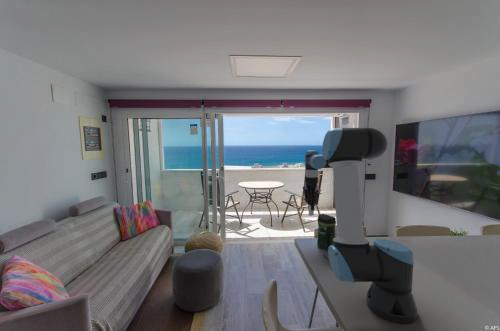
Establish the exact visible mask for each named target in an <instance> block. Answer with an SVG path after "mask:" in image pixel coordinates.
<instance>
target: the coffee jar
mask: <svg viewBox="0 0 500 331" xmlns="http://www.w3.org/2000/svg"><path fill="white" fill-rule="evenodd" d="M317 226H318V228H317V229H318V230H317V241H316V243H317V247H318V248H320V249H322V250H325V251H328V248H329V246H331V245H333V239H334V238H335V237H336V226H337V223H336V217H335V216H332V215H330V214H326V213H320V214H318V216H317Z"/></svg>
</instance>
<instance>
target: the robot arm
mask: <svg viewBox="0 0 500 331" xmlns="http://www.w3.org/2000/svg"><path fill="white" fill-rule="evenodd" d="M321 148H322V149H321V154H320V153H319V151H318V150H315V149H314V150H305V152H304V154H305V155H304V158H305V159H304V160H305V161H304V167H305V168H304V176H305V177H304V183H305V185H304V186H302V189H303V194H304V200H305V203H307V209H308V216H310V217H311V216H314V213H315V205H317V204H319V203H318V202H319V197H320V193H321V191H322V190H321V188H320V189H319V187H318V183H319V177H318V176H319V170H322V169H332V172H333V173H332V175H333V189H334V204H335V216H336V217H335V218H336V233H337V234H336V235H335V238H334V239H333V245H331V246H329V248H328V250H327V253H328V257H329V259H328V261H329V264H330V267H331V270H332V272H333V275H334V276H335V277H336V279H337V280H338V281H340V282H343V283H344V282H345V283H346V282H347V283H353V284H354V283H371V284H370V286H369V288H368V290H367V292H366V304H367V306H368V308H369V309H370V310H371V311H372V312H373V313H374V314H376V316H377V315H378V317H381V318H383V319H384V320H387V321H390V322H392V323H397V324H403V325H404V324H405V325H407V324H411V323H414V322H416V321H417V318H418V307H417V304H416V301H415V298H414V295H413V274H414V271H413V270H414V265H415V262H414V253H413V250H412V249H410V248H409V247H408V246H406V245H404V244H402V243H400V242H398V241H394V240H391V239H387V238H376V239H374V240H373V243H372V245H370V241H369V239H368V238H366V237H365V235H364V225H363V222H364V221H363V211H362V209H363V208H362V199H361V198H362V197H361V189H360V188H361V186H360V175H359V167H360V166H361V165H362V164H363V161H364V160H368V161H369V160H374V159H377V158H379V157H381V156H382V155H383V154H384V153H386V151H387V148H388V139H387V137H386V135H385V134H384V133H383V132H381V131H380V130H378V129H376V128H373V127H338V128H330V129H329V130H327V132H326V133H325V136H324V137H323V141H322V147H321Z"/></svg>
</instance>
